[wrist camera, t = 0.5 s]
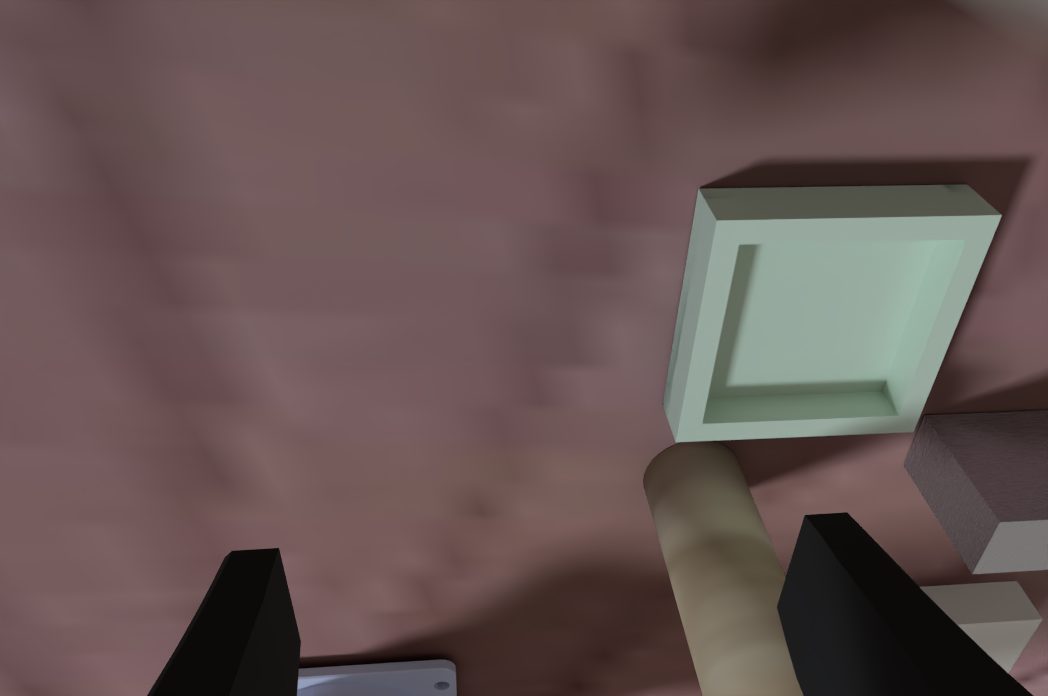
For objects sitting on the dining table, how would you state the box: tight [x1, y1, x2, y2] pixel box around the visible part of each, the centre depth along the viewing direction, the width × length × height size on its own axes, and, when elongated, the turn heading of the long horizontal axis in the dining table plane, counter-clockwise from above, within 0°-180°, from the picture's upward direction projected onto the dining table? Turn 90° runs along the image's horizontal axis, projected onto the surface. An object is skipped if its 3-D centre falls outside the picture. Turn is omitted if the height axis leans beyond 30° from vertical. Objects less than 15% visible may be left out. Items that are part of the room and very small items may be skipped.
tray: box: [663, 184, 1002, 442], centre depth 21 cm, size 6×6×2 cm
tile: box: [920, 581, 1043, 673], centre depth 31 cm, size 6×7×2 cm
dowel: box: [643, 441, 803, 696], centre depth 22 cm, size 3×3×7 cm
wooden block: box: [904, 410, 1048, 574], centre depth 24 cm, size 2×5×4 cm, turn 89°
